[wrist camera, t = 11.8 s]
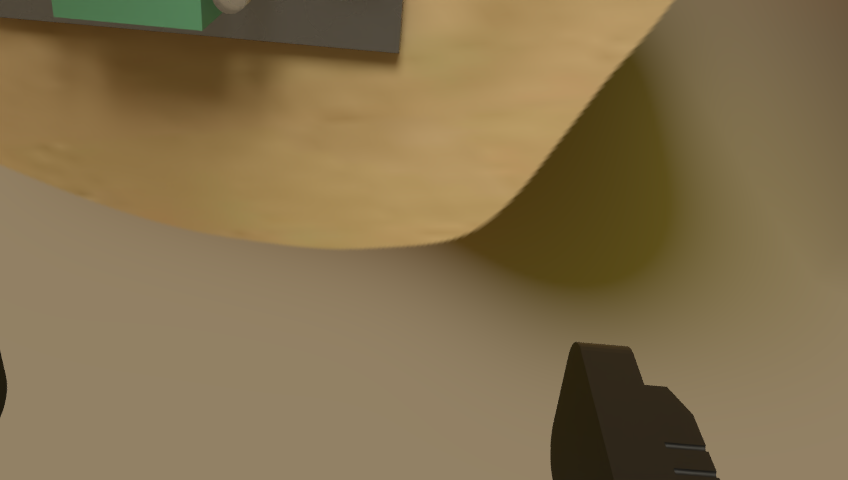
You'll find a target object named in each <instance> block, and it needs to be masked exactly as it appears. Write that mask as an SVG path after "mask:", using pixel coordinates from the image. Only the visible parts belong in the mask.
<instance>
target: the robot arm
mask: <svg viewBox="0 0 848 480" xmlns="http://www.w3.org/2000/svg"><path fill="white" fill-rule="evenodd" d="M6 393H7V380H6V375H5V370H4V366H3V361H2V358H1V353H0V416H1V414H2V411H3V408H4V405H5V400H6ZM705 446H706V445H705V443H704V440H703V438H702V436H701V433H700V431H699V428H698V426H697V423H696V421H695V419H694V416H693V414H691V412H690V411H689V410H688V409H687V408H686V407H685V406H684V405H683V404H682V403H681V402H680V401H679V399H678V398H676V396H675V395H674V394H673V393H672V392H671V391H670V390H669V389H668V388H667V387H661V386H650V385H644V383H643V380H642V377H641V374H640V372H639V369H638V366H637V363H636V360H635V358H634V354H633V352H632V350H631V349H630V348H629V347H628V346H616V345H605V344H592V343H580V342H575V343H573V345H572V347H571V349H570V352H569V356H568V360H567V365H566V369H565V373H564V378H563V383H562V387H561V391H560V396H559V400H558V405H557V409H556V414H555V418H554V423H553V429H552V436H551V471H552V478H553V480H720V479H719V478H716V469H715V467H714V464H713V462H712V460H711V457H710V455H709V452H706V451H705Z"/></svg>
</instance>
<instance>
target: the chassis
mask: <svg viewBox="0 0 848 480" xmlns="http://www.w3.org/2000/svg"><path fill="white" fill-rule="evenodd" d="M213 3H214V5H215V6H216V7H217V8H218V9H219V10H220V11H221V12H223V13H222V14H220V15H219V16H218V17H217V18H216V19H215V20H214V21H213V22H212V23H210V24H209V25H208V26H207V27H206V28H205V29H204V30H203V31H199V30H188V29H178V28H167V27H156V26H145V25H135V24H124V23H113V22H102V21H92V20H81V19H70V18H60V17H54V15H53V8H52V1H51V0H0V17H4V18H15V19H26V20H38V21H49V22H60V23H71V24H82V25H93V26H104V27H115V28H126V29H137V30H148V31H159V32H170V33H181V34H192V35H203V36H214V37H225V38H236V39H247V40H258V41H269V42H280V43H291V44H302V45H313V46H324V47H335V48H346V49H357V50H368V51H379V52H390V53H399V50H400V40H401V25H402V11H403V0H213Z"/></svg>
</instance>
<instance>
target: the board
mask: <svg viewBox="0 0 848 480" xmlns="http://www.w3.org/2000/svg"><path fill="white" fill-rule="evenodd" d="M51 1H52V8H53V15H54V17H60V18H70V19H81V20H92V21H102V22H113V23H124V24H135V25H145V26H156V27H167V28H178V29H188V30H199V31H203V30H204V29H205V28H206V27H207V26H208V25H209V24H210V23H212V22H213V21H214V20H215V19H216V18H217V17H218V16H219V15H220V14H222V13H223V12H221V11H220V10H219V9H218V8H217V7H216V6H215V5H214V3H213V0H51Z"/></svg>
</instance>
